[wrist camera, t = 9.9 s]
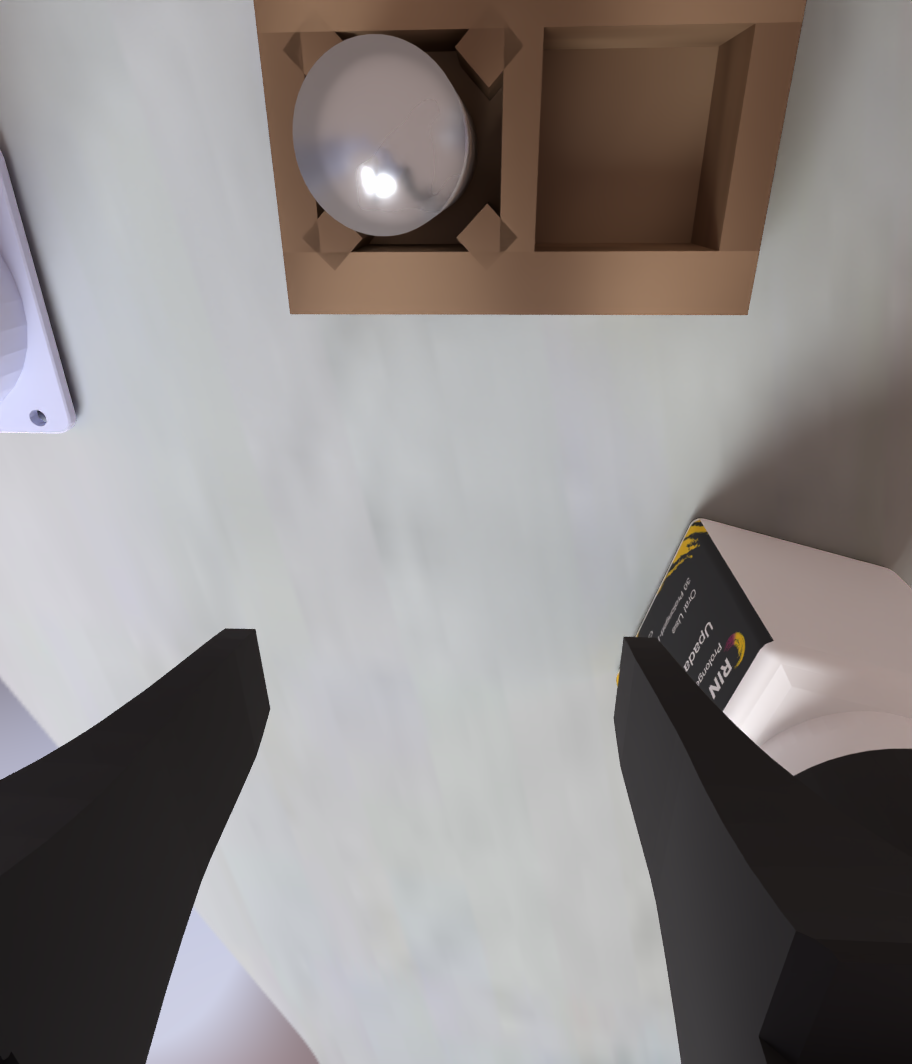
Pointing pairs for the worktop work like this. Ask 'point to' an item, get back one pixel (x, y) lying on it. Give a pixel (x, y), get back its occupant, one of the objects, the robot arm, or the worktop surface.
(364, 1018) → the worktop surface
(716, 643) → the medicine bottle
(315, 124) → the round bit
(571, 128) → the socket block
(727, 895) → the robot arm
